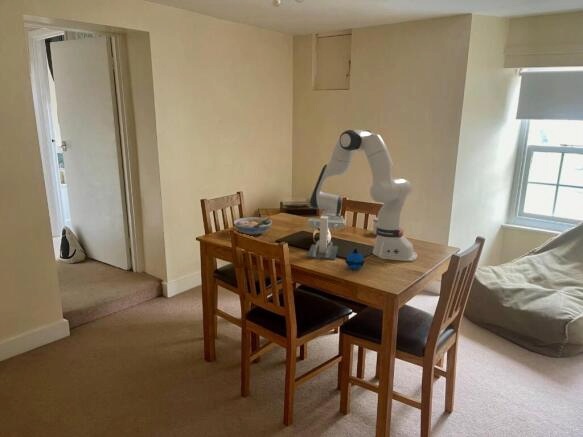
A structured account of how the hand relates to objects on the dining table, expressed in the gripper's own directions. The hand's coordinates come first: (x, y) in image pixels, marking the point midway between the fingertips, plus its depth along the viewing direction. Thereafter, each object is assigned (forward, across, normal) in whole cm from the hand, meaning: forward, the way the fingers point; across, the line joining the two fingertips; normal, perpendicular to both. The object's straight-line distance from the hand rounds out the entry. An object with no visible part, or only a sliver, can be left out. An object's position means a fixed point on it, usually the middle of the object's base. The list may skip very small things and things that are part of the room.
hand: (324, 227), depth 230 cm
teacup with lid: (-39, +31, +12) cm, 51 cm away
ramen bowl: (-20, -44, +12) cm, 50 cm away
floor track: (+7, 0, +12) cm, 14 cm away
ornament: (+28, +17, +12) cm, 35 cm away
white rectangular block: (+7, 0, +11) cm, 13 cm away
